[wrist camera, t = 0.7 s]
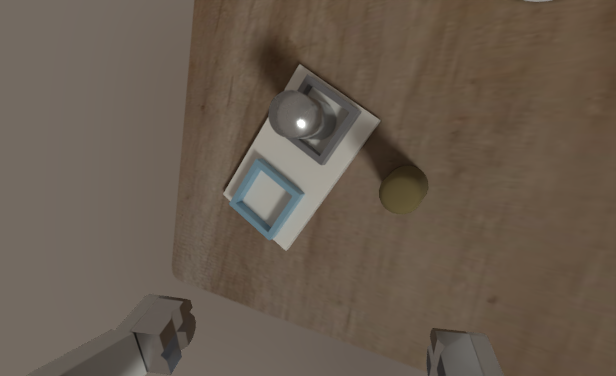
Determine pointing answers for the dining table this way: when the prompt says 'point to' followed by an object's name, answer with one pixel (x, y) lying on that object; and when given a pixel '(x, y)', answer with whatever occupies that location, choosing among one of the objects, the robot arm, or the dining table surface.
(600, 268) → the dining table surface
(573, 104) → the dining table surface
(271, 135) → the pallet board
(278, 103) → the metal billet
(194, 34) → the dining table surface
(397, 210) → the cork
